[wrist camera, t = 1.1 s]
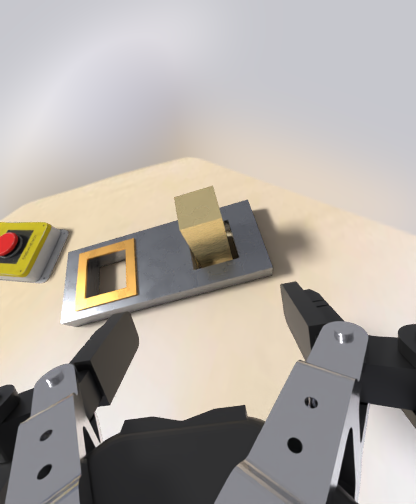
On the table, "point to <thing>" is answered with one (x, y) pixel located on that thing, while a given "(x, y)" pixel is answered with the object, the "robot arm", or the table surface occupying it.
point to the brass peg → (203, 226)
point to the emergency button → (29, 250)
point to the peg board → (159, 268)
